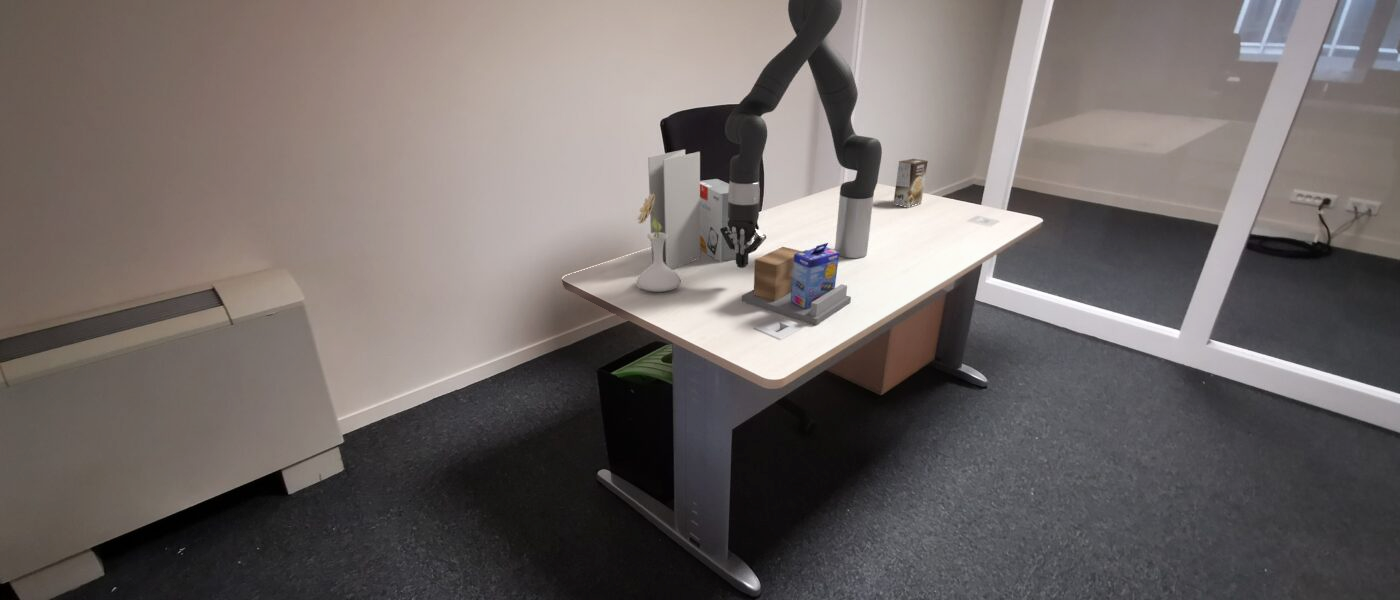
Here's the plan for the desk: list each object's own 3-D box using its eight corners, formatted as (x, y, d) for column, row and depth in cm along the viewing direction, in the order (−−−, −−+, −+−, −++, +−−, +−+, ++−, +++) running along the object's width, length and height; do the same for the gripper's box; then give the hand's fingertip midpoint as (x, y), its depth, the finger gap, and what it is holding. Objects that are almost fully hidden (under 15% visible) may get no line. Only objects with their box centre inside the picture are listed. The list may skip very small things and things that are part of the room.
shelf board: (778, 281, 161) (779, 265, 159) (850, 302, 149) (852, 285, 147) (741, 301, 150) (742, 284, 148) (816, 325, 138) (818, 306, 136)
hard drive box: (695, 246, 187) (694, 181, 179) (717, 243, 190) (717, 178, 182) (720, 263, 174) (720, 192, 166) (743, 258, 177) (745, 189, 169)
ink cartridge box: (806, 310, 142) (810, 250, 136) (789, 302, 146) (792, 243, 140) (835, 299, 147) (841, 241, 141) (818, 292, 151) (823, 235, 145)
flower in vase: (642, 277, 164) (639, 183, 154) (685, 280, 162) (684, 185, 152) (629, 297, 152) (624, 197, 142) (675, 300, 150) (673, 199, 140)
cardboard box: (781, 280, 158) (782, 246, 154) (801, 286, 154) (803, 251, 151) (753, 294, 149) (754, 259, 146) (774, 301, 146) (776, 265, 142)
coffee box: (907, 208, 225) (913, 164, 219) (892, 204, 230) (898, 161, 223) (921, 204, 230) (928, 160, 224) (906, 200, 235) (912, 157, 228)
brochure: (685, 253, 181) (684, 149, 169) (700, 257, 178) (700, 151, 166) (651, 267, 171) (648, 157, 159) (666, 271, 168) (664, 160, 156)
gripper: (775, 200, 149) (772, 268, 156) (731, 192, 156) (729, 257, 163) (757, 207, 143) (754, 277, 150) (712, 198, 151) (712, 264, 158)
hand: (741, 266), depth 157 cm, fingers closed
